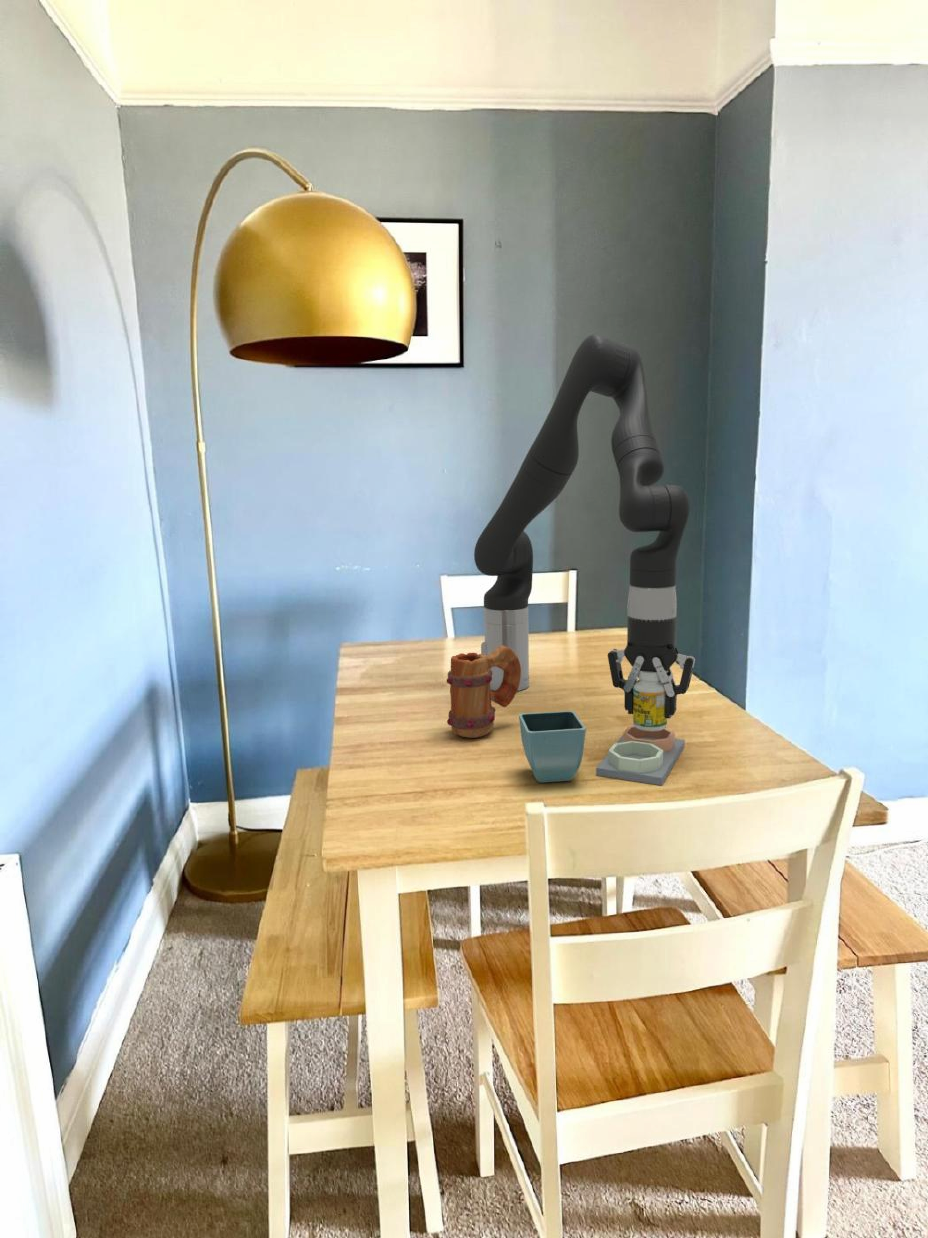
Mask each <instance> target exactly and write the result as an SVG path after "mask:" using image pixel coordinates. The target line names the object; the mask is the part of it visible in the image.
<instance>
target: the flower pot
mask: <svg viewBox="0 0 928 1238" xmlns="http://www.w3.org/2000/svg"><path fill="white" fill-rule="evenodd" d="M518 720H519V729H520V736H521V737H520V738H521V742H522V748H523V751H524V754H525V758H526V759H527V762H528V765H529V766H530V769H531V771H532V774H533V776H534V777H535V779H536V781H537V782H538V783H540V784H541V783H554V782H569V781H572V780H573V778H574V777H575V776H576V774H577V773H578V771H579V769H580V766H581V763H582V761H583V756H584V755H583V754H584V749H585V741H586V734H587V733H586V731H587V727H586V726H585V724H584V723H583V722H582V721H581V719H580V718H579V717H578V715H577V714H576V712H575V711H573V710H563V711H543V712H530V713H529V712H526V713H519V714H518Z"/></svg>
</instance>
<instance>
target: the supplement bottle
mask: <svg viewBox="0 0 928 1238" xmlns="http://www.w3.org/2000/svg"><path fill="white" fill-rule="evenodd" d="M666 696H667V693H666V691H665V688H664V686H663V684H662V683H661V681H660V678H659V675H658V673H657V672H649V671H639V674H638V679H637V681H636V682H635V684H634V687H633V714H632V719H633V720H632V721H633V722H632V723H633V726H635V727H636V728H637V729H639V730H644V731H660V730H663V729H665V728H667V726H668V718H665V703H666Z"/></svg>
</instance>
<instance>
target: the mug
mask: <svg viewBox="0 0 928 1238" xmlns="http://www.w3.org/2000/svg"><path fill="white" fill-rule="evenodd" d="M495 666H496V667H498V668H500V669H502V670H503V671H504V674H503V681H502V683H501V685H500V687H499V688H498V689H497V690H495V691H494V690H491V689H490V682H491V681H492V671H491V667H495ZM520 678H521V666H520V662H519V659H518V657H517V656H516V654H515V653H514V652H513V650H512V649H510V648H508V647H506V646H503V645H501V646H498V647H496V649H495V650H494V651H493V652H492V653H491V654H489V655H484V654H481V653H479V654H478V652H467V653H459V654H455V655H452V656H451V658H450V670H449V671H448V672H447V678H446V684H448V685H450V687H449V693H450V710H449V711H448V719H447V721H446V723H447V725H448V726H451V732H452V733H453V734H455V735H457V736H460V737H462V738H467V739H470V738H471V739H473V738H474V739H477V738H481V737H484V736H486V735H488V734H489V733H490V732H491V731H492V730H493V728H494V725H495V723H494V721H495V718H496V707H494V706H493V705H492V702H493V703H496V704H497V705H499V706H501V707H502V708H507V707H508V706H509V705H510V704H511V703H512V701H513V700H514V698H515V696H516V694H517V693H518V692H519V691H518V687H519V683H520Z"/></svg>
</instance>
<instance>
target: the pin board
mask: <svg viewBox="0 0 928 1238" xmlns="http://www.w3.org/2000/svg"><path fill="white" fill-rule="evenodd" d="M675 735H676V734H675V732H674V731H673V730H671V729H669V728H668V727H666V728H665V729H663V730H660V731H644V730H639V729H637V728H636V727H635V726H634V725H631V726H627V727H626V729H625V730H624V731H623V733H622V736H620V738H619V739H618V740H617V742H615V743H613V744H612V746H611V747H610V748H609V749H608V752H607V754H606V755H605V757H604V758H603V759H602V760H601V761H600V763H599V764H598V765H597V767H596V768H595V770H596V771H595V772H596V773H595V775H596V776H600V777H604V778H611V779H618V780H623V781H624V780H626V781H630V782H637V783H644V784H651V785H657V786H663V785H664V783H665V781H666V780H667V778H668V776H669V774H670V773H671V770H672V769H673V768H674V766H675V764H676V762H677V760H678V759H679V757H680V755H681V753H682V751H683V750H684V748H685V744H686V743H685V742H686V741H685V739H683V738H682V739H680V738H675V737H676V736H675Z"/></svg>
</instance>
